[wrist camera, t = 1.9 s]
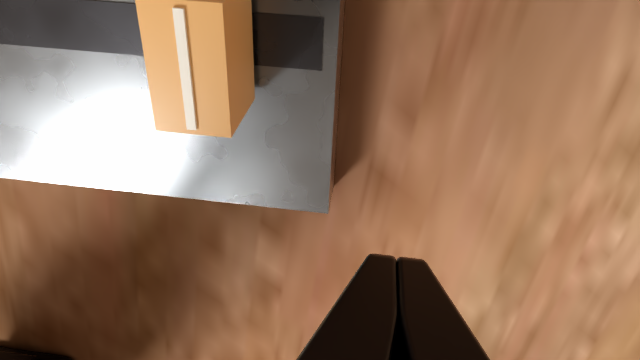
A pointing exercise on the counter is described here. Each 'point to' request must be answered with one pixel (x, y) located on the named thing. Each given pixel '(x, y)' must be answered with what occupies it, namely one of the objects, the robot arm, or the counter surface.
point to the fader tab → (198, 63)
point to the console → (137, 115)
